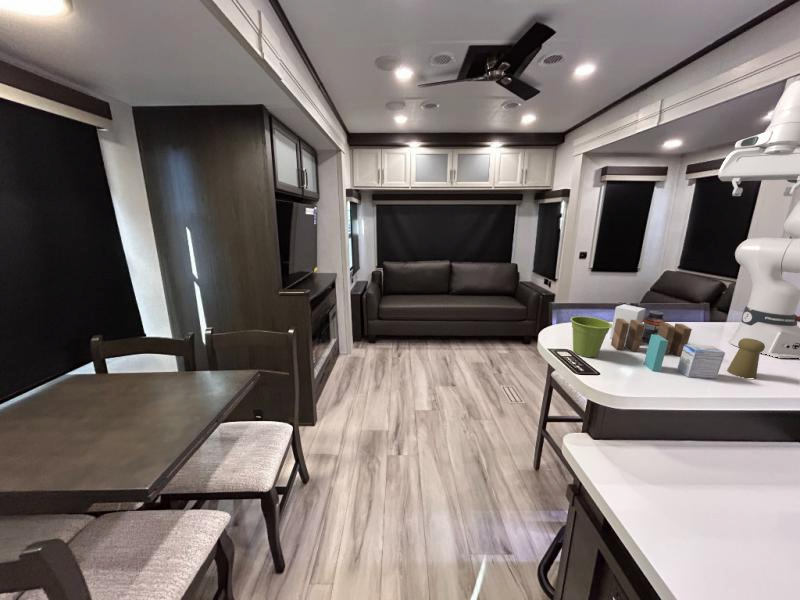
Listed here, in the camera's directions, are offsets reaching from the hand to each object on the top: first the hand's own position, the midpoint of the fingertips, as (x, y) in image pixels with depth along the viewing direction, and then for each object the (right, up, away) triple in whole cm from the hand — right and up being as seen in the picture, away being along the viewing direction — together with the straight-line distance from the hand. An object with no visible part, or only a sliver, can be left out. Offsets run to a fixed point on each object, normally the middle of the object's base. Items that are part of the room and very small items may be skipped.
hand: (760, 195), depth 83 cm
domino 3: (-18, -49, +13) cm, 54 cm away
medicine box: (-8, -50, +10) cm, 52 cm away
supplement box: (-11, -43, +36) cm, 57 cm away
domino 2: (-15, -45, +27) cm, 54 cm away
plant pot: (-34, -46, +22) cm, 61 cm away
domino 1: (-19, -45, +28) cm, 56 cm away
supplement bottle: (-2, -43, +35) cm, 56 cm away
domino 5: (-1, -46, +24) cm, 52 cm away
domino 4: (-6, -46, +25) cm, 52 cm away
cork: (+7, -50, +11) cm, 52 cm away
